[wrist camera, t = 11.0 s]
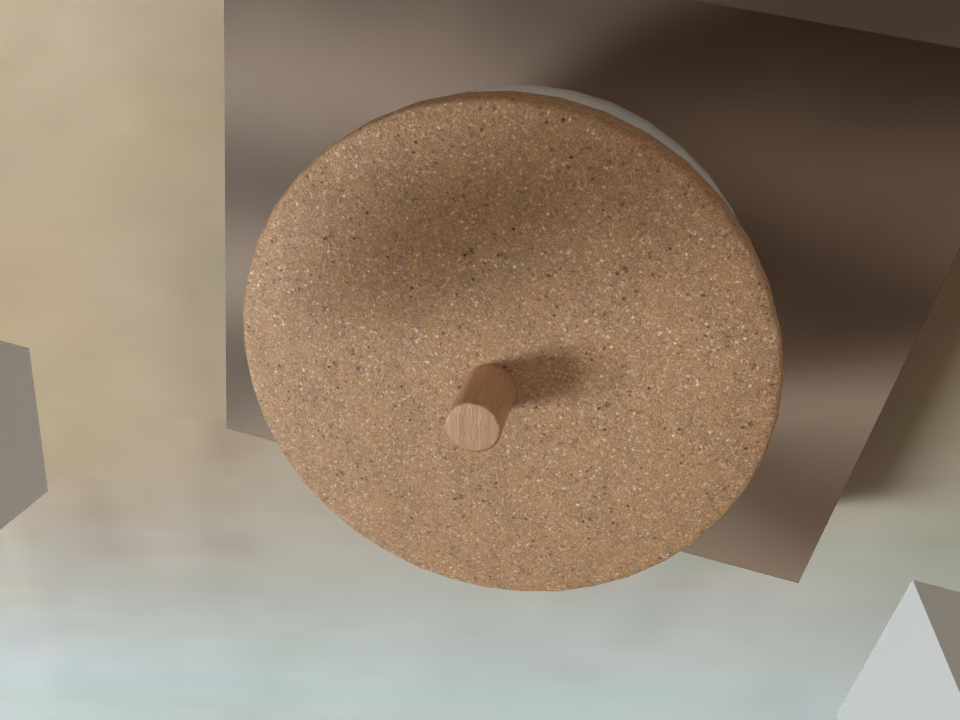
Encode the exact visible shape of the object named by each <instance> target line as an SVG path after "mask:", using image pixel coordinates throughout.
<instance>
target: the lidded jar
mask: <svg viewBox="0 0 960 720" xmlns="http://www.w3.org/2000/svg"><path fill="white" fill-rule="evenodd" d="M243 322H244V342H245V352H246V357H247V361H248V366H249V371H250V376H251V380H252V385H253V387H254V390H255V393H256V396H257V399H258V402H259V405H260V407H261V410H262V413H263V416H264V419H265V421H266V423H267V425H268V426H269V428H270V430H271V432H272V434H273V436H274V437H275V439H276V441H277V443H278V445H279V446H280V448H281V450H282V452H283V453H284V455H285V456H286V457H287V459H288V460H289V462H290V463H291V465H292V466H293V468H294V469H295V470H296V472H297V473H298V475H299V476H300V478H301V479H302V480H303V481H304V483H305V484H306V485H307V486H308V487H309V488H310V489H311V490H312V491H313V492H314V493H315V494H316V495H317V496H318V497H319V498H320V499H321V500H322V501H323V503H324V504H325V505H326V506H327V507H328V508H330V509H331V510H332V511H333V512H334V513H335V514H337V515H338V516H339V517H340V518H341V519H342V520H343V521H345V522H346V523H347V524H348V525H349V526H350V527H352V528H353V529H354V530H355V531H357V532H358V533H360V534H361V535H363V536H364V537H366V538H368V539H369V540H371V541H372V542H374V543H375V544H377V545H378V546H380V547H382V548H383V549H385V550H387V551H389V552H390V553H392V554H394V555H396V556H398V557H400V558H402V559H404V560H406V561H408V562H410V563H412V564H413V565H415V566H418V567H421V568H423V569H426V570H429V571H432V572H435V573H437V574H440V575H443V576H446V577H449V578H452V579H456V580H460V581H464V582H468V583H472V584H476V585H480V586H483V587H490V588H500V589H509V590H518V591H562V590H568V589H575V588H582V587H589V586H595V585H599V584H602V583H606V582H610V581H614V580H618V579H622V578H626V577H629V576H631V575H633V574H636V573H638V572H640V571H642V570H645V569H647V568H649V567H651V566H654V565H656V564H658V563H660V562H663V561H665V560H666V559H668V558H670V557H671V556H673V555H674V554H676V553H678V552H679V551H681V550H682V549H684V548H686V547H687V546H689V545H690V544H692V543H694V542H695V541H696V540H698V539H699V538H700V537H701V536H702V535H703V534H704V533H706V532H707V531H708V530H709V529H710V528H711V527H712V526H714V525H715V524H716V523H717V522H718V521H719V520H720V519H722V518H723V517H724V516H725V514H726V513H727V512H728V511H729V509H730V508H731V507H732V506H733V505H734V503H735V502H736V501H737V500H738V498H739V497H740V496H741V495H742V493H743V492H744V491H745V490H746V489H747V487H748V485H749V484H750V482H751V480H752V478H753V476H754V475H755V473H756V471H757V469H758V467H759V466H760V464H761V462H762V460H763V458H764V456H765V455H766V452H767V449H768V446H769V443H770V440H771V437H772V434H773V431H774V428H775V425H776V422H777V419H778V416H779V408H780V401H781V393H782V386H783V379H784V370H783V351H782V333H781V329H780V325H779V321H778V317H777V313H776V309H775V305H774V300H773V296H772V292H771V288H770V284H769V282H768V279H767V276H766V274H765V272H764V270H763V267H762V265H761V263H760V261H759V259H758V256H757V254H756V252H755V250H754V247H753V245H752V243H751V241H750V238H749V236H748V235H747V234H746V232H745V231H744V229H743V228H742V226H741V225H740V223H739V222H738V220H737V218H736V216H735V213H734V211H733V209H732V207H731V206H730V205H729V203H728V202H727V200H726V199H725V197H724V196H723V194H722V193H721V191H720V190H719V188H718V187H717V185H716V184H715V182H714V181H713V179H712V178H711V177H710V175H709V174H708V173H707V172H706V171H705V170H704V169H703V168H702V167H701V166H700V165H699V164H698V163H697V162H696V161H695V160H694V159H693V158H692V157H691V156H690V155H689V153H688V152H687V151H686V150H685V149H684V148H683V147H682V146H681V145H680V144H678V143H677V142H676V141H675V140H673V139H672V138H671V137H669V136H668V135H667V134H665V133H664V132H663V131H661V130H660V129H658V128H657V127H656V126H654V125H653V124H652V123H650V122H649V121H648V120H646V119H644V118H642V117H640V116H638V115H636V114H634V113H632V112H631V111H629V110H627V109H625V108H623V107H621V106H619V105H617V104H615V103H613V102H610V101H607V100H604V99H600V98H597V97H594V96H591V95H588V94H584V93H581V92H578V91H574V90H567V89H560V88H553V87H545V86H538V85H510V86H488V87H484V88H479V89H474V90H469V91H464V92H459V93H454V94H450V95H447V96H443V97H438V98H433V99H428V100H423V101H419V102H416V103H414V104H411V105H408V106H406V107H403V108H401V109H398V110H396V111H393V112H391V113H388V114H386V115H383V116H381V117H378V118H376V119H373V120H371V121H369V122H367V123H366V124H364V125H362V126H361V127H359V128H358V129H356V130H354V131H353V132H351V133H350V134H348V135H346V136H345V137H343V138H341V139H340V140H338V141H337V142H335V143H333V144H332V145H330V146H329V147H328V148H327V149H326V150H324V151H323V152H322V153H321V154H320V155H319V156H318V157H317V158H316V159H315V160H313V161H312V162H311V163H310V164H309V165H308V166H307V167H306V168H305V169H304V170H302V171H301V172H300V173H299V174H298V176H297V177H296V178H295V180H294V181H293V182H292V184H291V185H290V186H289V187H288V189H287V190H286V191H285V193H284V194H283V195H282V197H281V198H280V199H279V201H278V202H277V203H276V205H275V206H274V208H273V210H272V212H271V214H270V216H269V218H268V220H267V222H266V224H265V226H264V228H263V230H262V232H261V234H260V236H259V238H258V240H257V244H256V247H255V251H254V254H253V257H252V261H251V264H250V268H249V271H248V274H247V281H246V290H245V299H244V308H243Z"/></svg>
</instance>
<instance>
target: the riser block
mask: <svg viewBox="0 0 960 720" xmlns="http://www.w3.org/2000/svg"><path fill="white" fill-rule="evenodd" d="M224 50H225V223H226V397H227V429H231V430H234V431H238V432H242V433H246V434H249V435H253V436H257V437H260V438H264V439H268V440H271V441H275V442H277V441H276V439H275V437H274V436H273V434H272V432H271V430H270V428H269V426H268V425H267V423H266V421H265V419H264V416H263V413H262V410H261V407H260V405H259V402H258V399H257V396H256V393H255V390H254V387H253V385H252V380H251V376H250V371H249V366H248V361H247V357H246V352H245V342H244V322H243V308H244V299H245V290H246V281H247V274H248V271H249V268H250V264H251V261H252V257H253V254H254V251H255V247H256V244H257V240H258V238H259V236H260V234H261V232H262V230H263V228H264V226H265V224H266V222H267V220H268V218H269V216H270V214H271V212H272V210H273V208H274V206H275V205H276V203H277V202H278V201H279V199H280V198H281V197H282V195H283V194H284V193H285V191H286V190H287V189H288V187H289V186H290V185H291V184H292V182H293V181H294V180H295V178H296V177H297V176H298V174H299V173H300V172H301V171H302V170H304V169H305V168H306V167H307V166H308V165H309V164H310V163H311V162H312V161H313V160H315V159H316V158H317V157H318V156H319V155H320V154H321V153H322V152H323V151H324V150H326V149H327V148H328V147H329V146H330V145H332V144H333V143H335V142H337V141H338V140H340V139H341V138H343V137H345V136H346V135H348V134H350V133H351V132H353V131H354V130H356V129H358V128H359V127H361V126H362V125H364V124H366V123H367V122H369V121H371V120H373V119H376V118H378V117H381V116H383V115H386V114H388V113H391V112H393V111H396V110H398V109H401V108H403V107H406V106H408V105H411V104H414V103H416V102H419V101H423V100H428V99H433V98H438V97H443V96H447V95H450V94H454V93H459V92H464V91H469V90H474V89H479V88H484V87H488V86H510V85H538V86H545V87H553V88H560V89H567V90H574V91H578V92H581V93H584V94H588V95H591V96H594V97H597V98H600V99H604V100H607V101H610V102H613V103H615V104H617V105H619V106H621V107H623V108H625V109H627V110H629V111H631V112H632V113H634V114H636V115H638V116H640V117H642V118H644V119H646V120H648V121H649V122H650V123H652V124H653V125H654V126H656V127H657V128H658V129H660V130H661V131H663V132H664V133H665V134H667V135H668V136H669V137H671V138H672V139H673V140H675V141H676V142H677V143H678V144H680V145H681V146H682V147H683V148H684V149H685V150H686V151H687V152H688V153H689V155H690V156H691V157H692V158H693V159H694V160H695V161H696V162H697V163H698V164H699V165H700V166H701V167H702V168H703V169H704V170H705V171H706V172H707V173H708V174H709V175H710V177H711V178H712V179H713V181H714V182H715V184H716V185H717V187H718V188H719V190H720V191H721V193H722V194H723V196H724V197H725V199H726V200H727V202H728V203H729V205H730V206H731V207H732V209H733V211H734V213H735V216H736V218H737V220H738V222H739V223H740V225H741V226H742V228H743V229H744V231H745V232H746V234H747V235H748V236H749V238H750V241H751V243H752V245H753V247H754V250H755V252H756V254H757V256H758V259H759V261H760V263H761V265H762V267H763V270H764V272H765V274H766V276H767V279H768V282H769V284H770V288H771V292H772V296H773V300H774V305H775V309H776V313H777V317H778V321H779V325H780V329H781V333H782V351H783V370H784V379H783V386H782V393H781V401H780V408H779V416H778V419H777V422H776V425H775V428H774V431H773V434H772V437H771V440H770V443H769V446H768V449H767V452H766V455H765V456H764V458H763V460H762V462H761V464H760V466H759V467H758V469H757V471H756V473H755V475H754V476H753V478H752V480H751V482H750V484H749V485H748V487H747V489H746V490H745V491H744V492H743V493H742V495H741V496H740V497H739V498H738V500H737V501H736V502H735V503H734V505H733V506H732V507H731V508H730V509H729V511H728V512H727V513H726V514H725V516H724V517H723V518H722V519H720V520H719V521H718V522H717V523H716V524H715V525H714V526H712V527H711V528H710V529H709V530H708V531H707V532H706V533H704V534H703V535H702V536H701V537H700V538H699V539H698V540H696V541H695V542H694V543H692V544H690V545H689V546H687V547H686V548H684V549H682V550H681V551H682V552H685V553H689V554H693V555H696V556H700V557H704V558H708V559H711V560H715V561H719V562H722V563H726V564H730V565H733V566H737V567H741V568H744V569H748V570H752V571H756V572H759V573H763V574H767V575H770V576H774V577H778V578H781V579H785V580H789V581H793V582H796V583H799V581H800V578H801V576H802V574H803V572H804V570H805V568H806V566H807V564H808V562H809V560H810V558H811V556H812V554H813V551H814V549H815V547H816V545H817V543H818V541H819V539H820V537H821V535H822V533H823V531H824V529H825V527H826V525H827V522H828V520H829V518H830V516H831V514H832V512H833V510H834V508H835V506H836V504H837V502H838V500H839V498H840V496H841V493H842V491H843V489H844V487H845V485H846V483H847V481H848V479H849V477H850V475H851V473H852V471H853V469H854V467H855V464H856V462H857V460H858V458H859V456H860V454H861V452H862V450H863V448H864V446H865V444H866V442H867V440H868V438H869V435H870V433H871V431H872V429H873V427H874V425H875V423H876V421H877V419H878V417H879V415H880V413H881V411H882V409H883V406H884V404H885V402H886V400H887V398H888V396H889V394H890V392H891V390H892V388H893V386H894V384H895V382H896V379H897V377H898V375H899V373H900V371H901V369H902V367H903V365H904V363H905V361H906V359H907V357H908V355H909V353H910V350H911V348H912V346H913V344H914V342H915V340H916V338H917V336H918V334H919V332H920V330H921V328H922V326H923V324H924V321H925V319H926V317H927V315H928V313H929V311H930V309H931V307H932V305H933V303H934V301H935V299H936V297H937V295H938V292H939V290H940V288H941V286H942V284H943V282H944V280H945V278H946V276H947V274H948V272H949V270H950V268H951V266H952V263H953V261H954V259H955V257H956V255H957V253H958V251H959V249H960V0H224Z"/></svg>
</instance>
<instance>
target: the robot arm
mask: <svg viewBox="0 0 960 720" xmlns="http://www.w3.org/2000/svg"><path fill="white" fill-rule="evenodd" d="M47 491H48V488H47V481H46V473H45V466H44V458H43V451H42V443H41V435H40V428H39V420H38V413H37V405H36V398H35V390H34V382H33V375H32V367H31V360H30V352H29V348H26V347H22V346H18V345H15V344H11V343H7V342H3V341H0V529H2V528H3V527H4V526H5V525H7V524H8V523H9V522H10V521H12V520H13V519H14V518H15V517H16V516H18V515H19V514H20V513H21V512H23V511H24V510H25V509H26V508H28V507H29V506H30V505H31V504H33V503H34V502H35V501H36V500H37V499H39V498H40V497H41V496H42V495H44V494H45V493H46V492H47ZM835 717H836V720H960V592H957V591H953V590H949V589H945V588H942V587H938V586H934V585H930V584H926V583H923V582H919V581H915V580H912V582H911V584H910V585H909V587H908V589H907V591H906V592H905V594H904V596H903V598H902V600H901V601H900V603H899V605H898V607H897V608H896V610H895V612H894V614H893V615H892V617H891V619H890V621H889V623H888V624H887V626H886V628H885V630H884V631H883V633H882V635H881V637H880V638H879V640H878V642H877V644H876V646H875V647H874V649H873V651H872V653H871V654H870V656H869V658H868V660H867V662H866V663H865V665H864V667H863V669H862V670H861V672H860V674H859V676H858V677H857V679H856V681H855V683H854V685H853V686H852V688H851V690H850V692H849V693H848V695H847V697H846V699H845V700H844V702H843V704H842V706H841V708H840V709H839V711H838V713H837V715H836V716H835Z"/></svg>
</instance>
